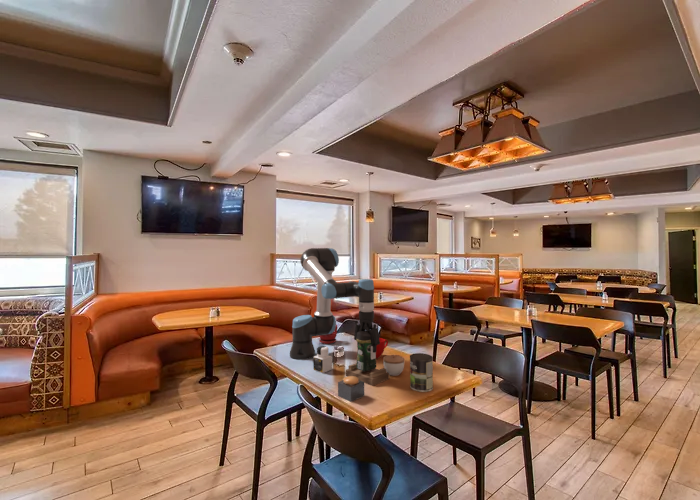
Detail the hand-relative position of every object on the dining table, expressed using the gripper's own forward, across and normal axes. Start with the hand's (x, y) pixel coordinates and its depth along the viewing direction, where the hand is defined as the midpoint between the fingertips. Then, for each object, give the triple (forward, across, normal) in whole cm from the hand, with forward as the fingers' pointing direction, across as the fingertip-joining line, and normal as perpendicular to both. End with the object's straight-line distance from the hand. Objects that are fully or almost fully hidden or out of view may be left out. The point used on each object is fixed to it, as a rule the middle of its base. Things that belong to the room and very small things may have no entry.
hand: (366, 356), depth 166 cm
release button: (+10, +10, -20) cm, 25 cm away
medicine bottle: (+10, -24, -8) cm, 27 cm away
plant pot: (+11, -64, +28) cm, 71 cm away
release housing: (+10, +10, -20) cm, 25 cm away
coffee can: (+10, +26, +8) cm, 29 cm away
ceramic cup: (+10, -19, +28) cm, 36 cm away
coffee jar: (+6, 0, 0) cm, 6 cm away
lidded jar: (+10, +6, +14) cm, 18 cm away
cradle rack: (+10, 0, 0) cm, 10 cm away
